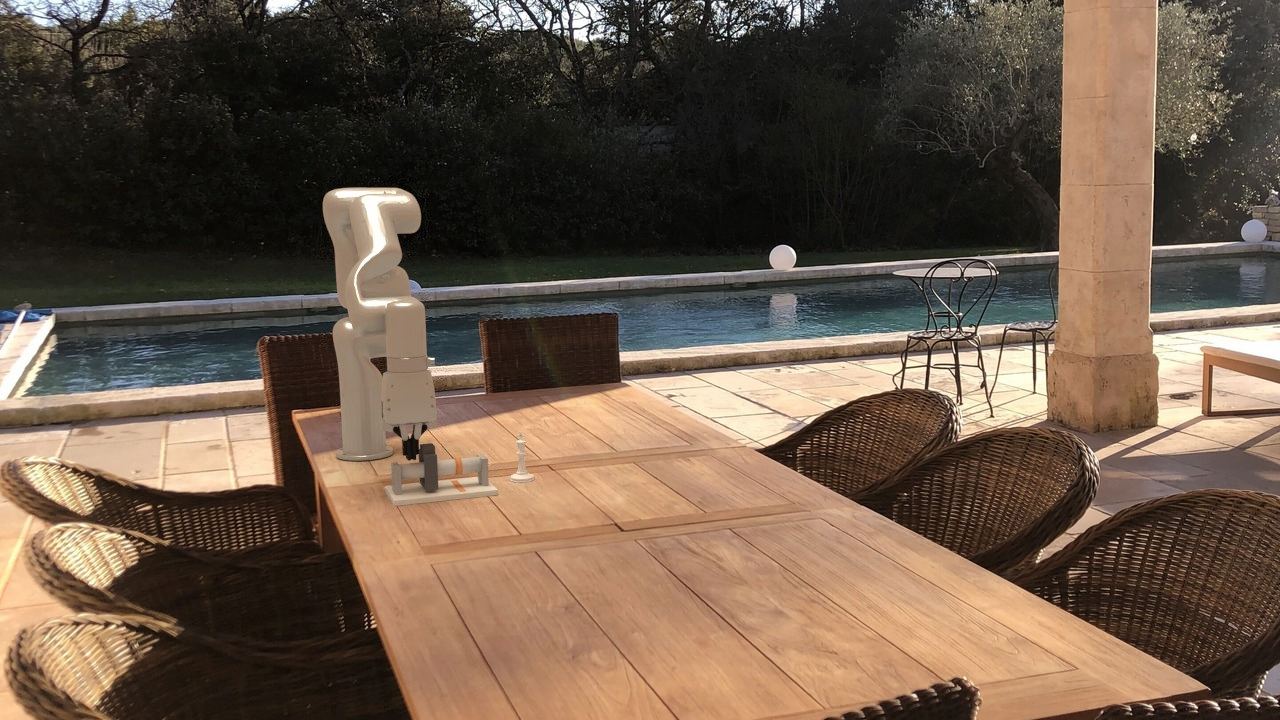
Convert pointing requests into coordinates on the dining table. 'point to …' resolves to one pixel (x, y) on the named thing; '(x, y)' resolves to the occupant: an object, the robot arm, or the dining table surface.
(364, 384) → the robot arm
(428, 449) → the dark grey notched block
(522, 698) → the dining table surface
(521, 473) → the chess piece
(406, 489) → the rail
